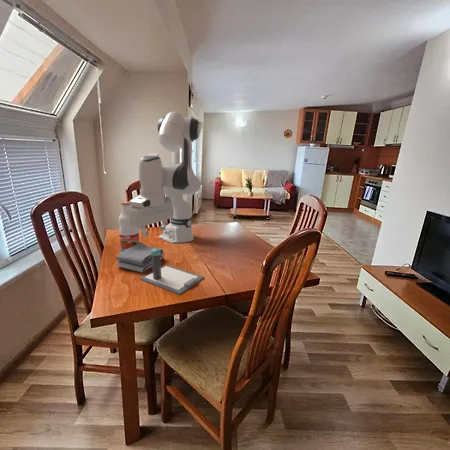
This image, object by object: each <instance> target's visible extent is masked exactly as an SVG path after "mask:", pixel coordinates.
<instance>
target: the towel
mask: <svg viewBox="0 0 450 450" xmlns="http://www.w3.org/2000/svg"><path fill="white" fill-rule="evenodd" d="M154 248H155V247H152V246H148V245H146V244H145V243H143V242H141V241H140V243H138V244H137V245H135V246H133V247H131V248H128V249H127V250H125V251H123V252H121V251H120V253H118V254H117V256H116V260H117V263H116V265H117V266H118V267H120V268H123V269H126V270H130V271H135V272H139V273H145V272H146V271H148V270H150V269H151V268H153V267H152V255H151V250H152V249H154ZM159 249H160V261H161V260H163V258H164V254H165V253H164V249H163V248H159Z"/></svg>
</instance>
